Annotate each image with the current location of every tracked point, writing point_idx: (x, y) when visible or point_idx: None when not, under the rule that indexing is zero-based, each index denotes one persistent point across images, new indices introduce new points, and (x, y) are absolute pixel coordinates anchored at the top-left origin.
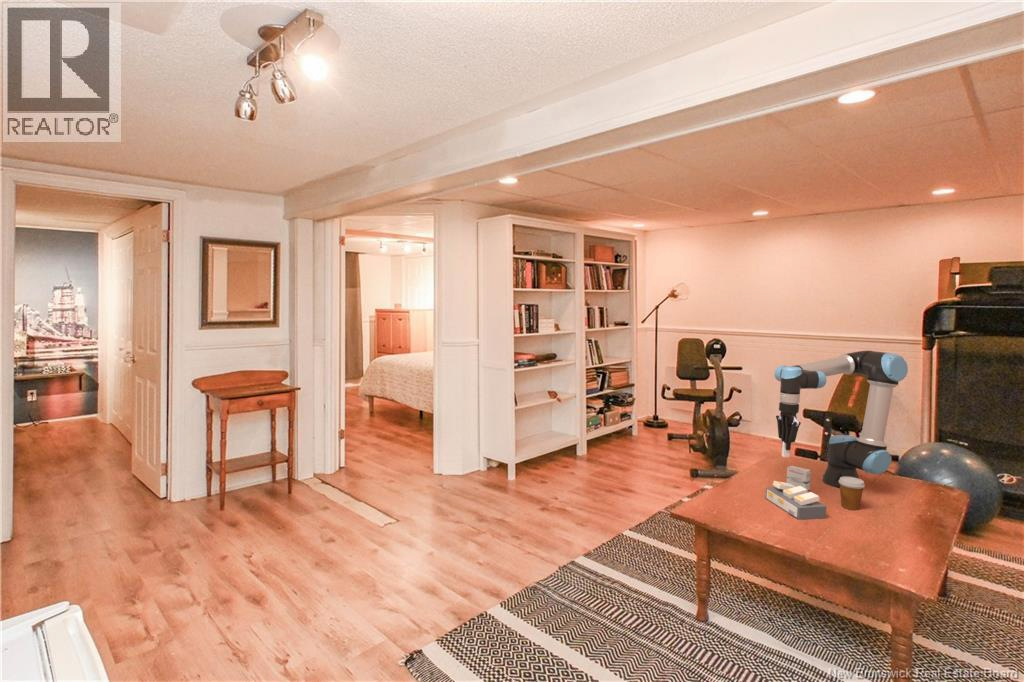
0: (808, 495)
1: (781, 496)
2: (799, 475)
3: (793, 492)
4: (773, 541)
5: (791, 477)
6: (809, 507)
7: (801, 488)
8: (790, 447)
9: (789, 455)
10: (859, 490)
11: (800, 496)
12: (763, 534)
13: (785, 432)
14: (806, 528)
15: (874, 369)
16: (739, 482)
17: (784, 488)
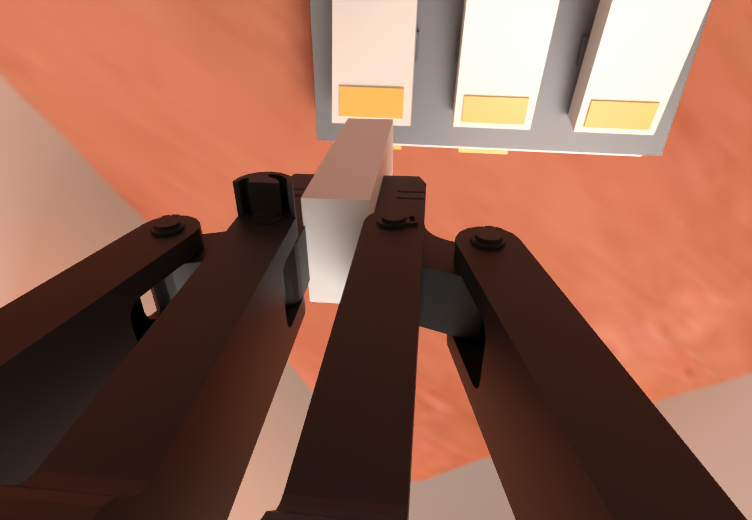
0: (642, 41)
1: (471, 141)
2: None
3: (526, 94)
4: (742, 368)
5: None
6: (684, 80)
7: (516, 2)
8: (423, 196)
9: (390, 125)
10: None
11: (607, 96)
12: (676, 365)
13: (255, 389)
14: (731, 163)
15: None
16: (82, 114)
17: (413, 80)
